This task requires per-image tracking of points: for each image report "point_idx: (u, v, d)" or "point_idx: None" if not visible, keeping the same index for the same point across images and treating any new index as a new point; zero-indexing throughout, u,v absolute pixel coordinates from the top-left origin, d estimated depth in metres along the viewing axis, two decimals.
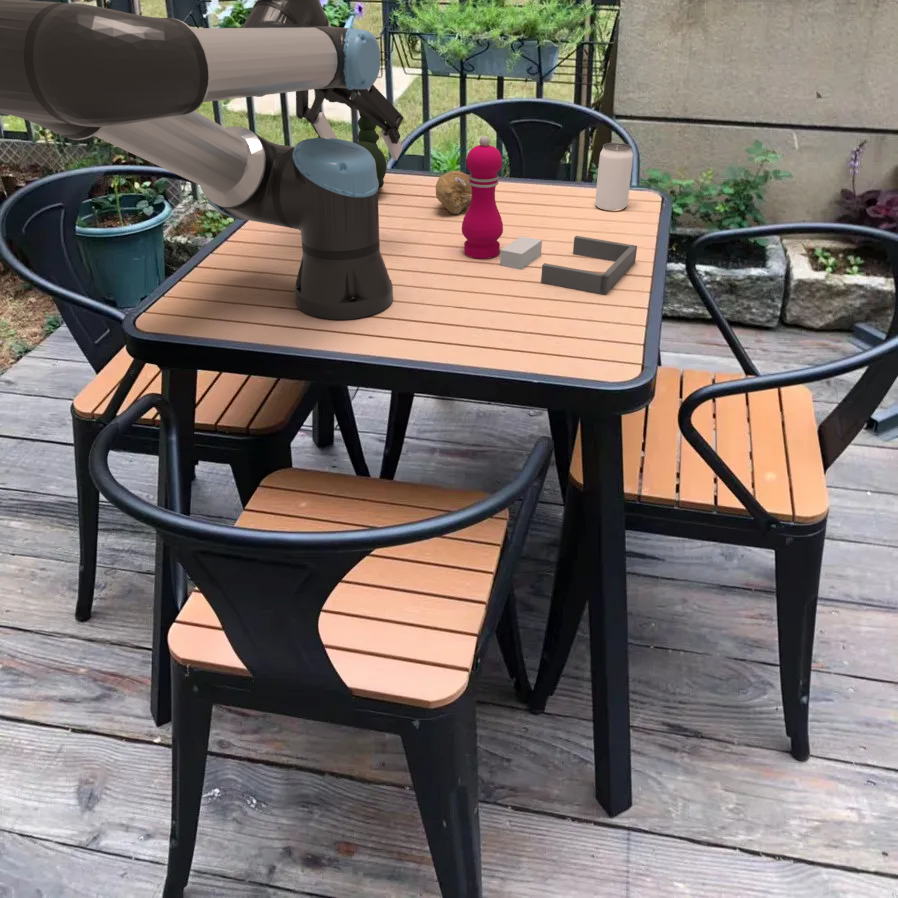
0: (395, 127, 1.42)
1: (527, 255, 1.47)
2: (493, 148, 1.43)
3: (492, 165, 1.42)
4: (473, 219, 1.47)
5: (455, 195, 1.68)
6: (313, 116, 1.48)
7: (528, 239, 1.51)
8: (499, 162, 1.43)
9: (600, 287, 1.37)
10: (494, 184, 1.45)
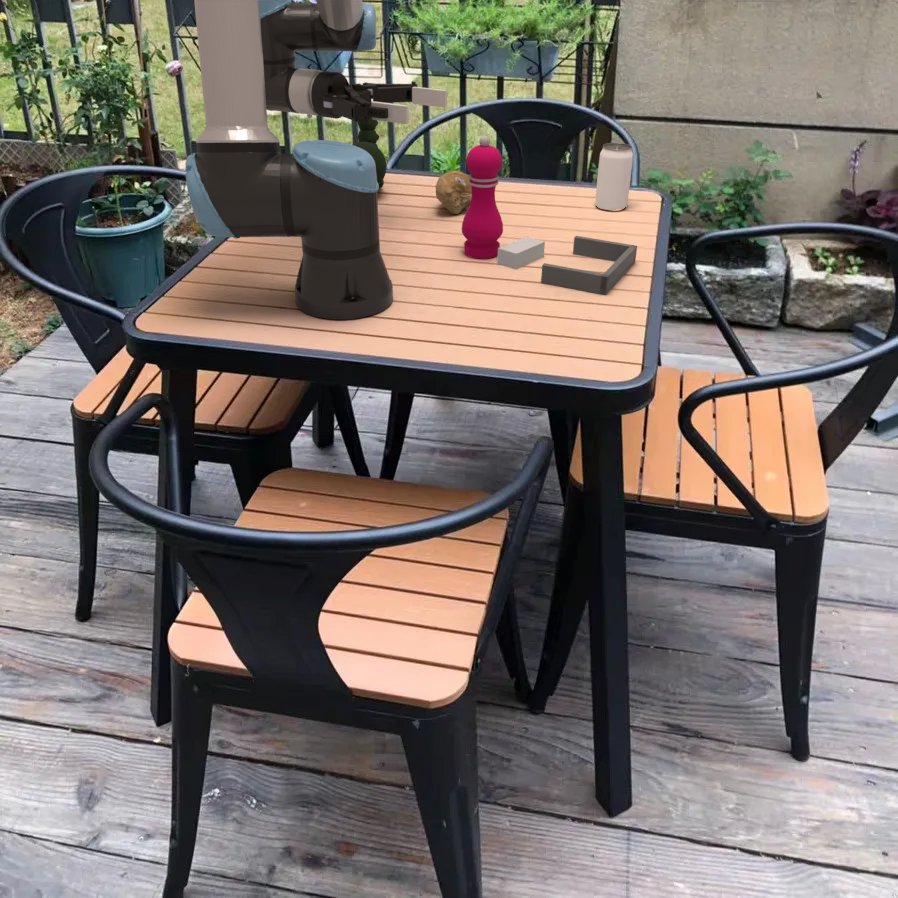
0: None
1: (524, 255, 1.47)
2: (493, 148, 1.43)
3: (492, 165, 1.42)
4: (473, 219, 1.47)
5: (455, 195, 1.68)
6: (364, 101, 1.42)
7: (531, 239, 1.51)
8: (499, 162, 1.43)
9: (600, 287, 1.37)
10: (494, 184, 1.45)
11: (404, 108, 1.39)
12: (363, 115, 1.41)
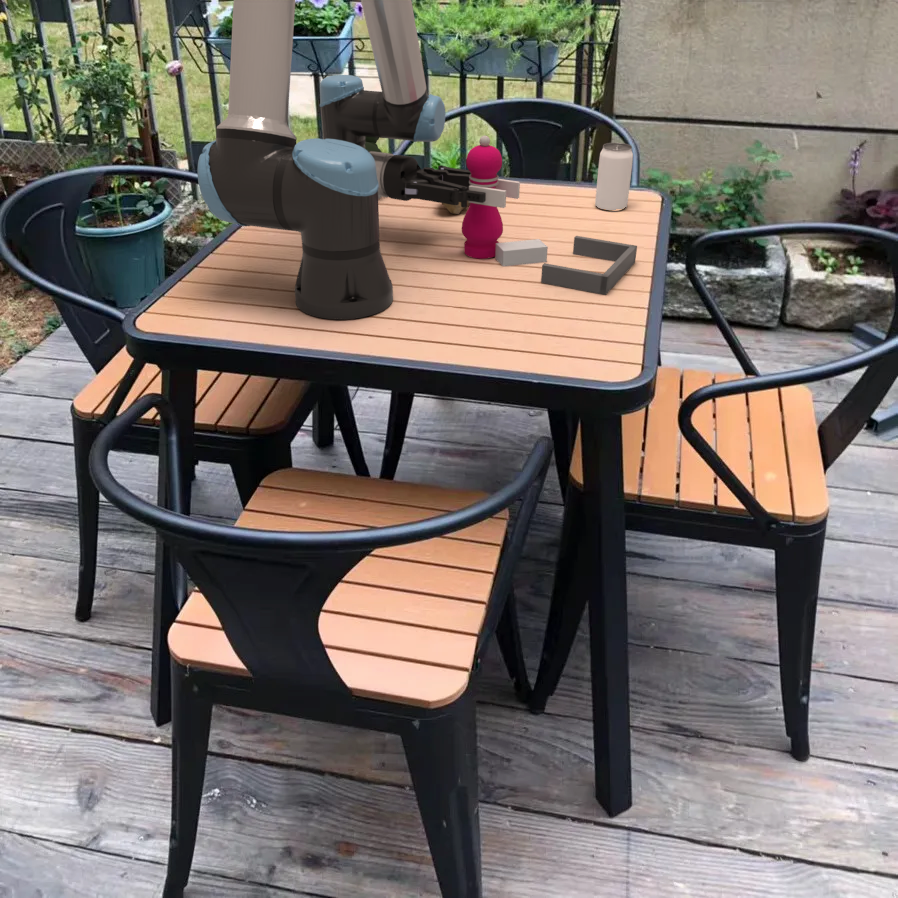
0: None
1: (516, 255, 1.47)
2: (493, 148, 1.43)
3: (492, 165, 1.42)
4: (473, 219, 1.47)
5: None
6: (457, 185, 1.45)
7: (538, 242, 1.50)
8: (499, 162, 1.43)
9: (600, 287, 1.37)
10: (494, 184, 1.45)
11: (502, 193, 1.42)
12: (461, 199, 1.44)
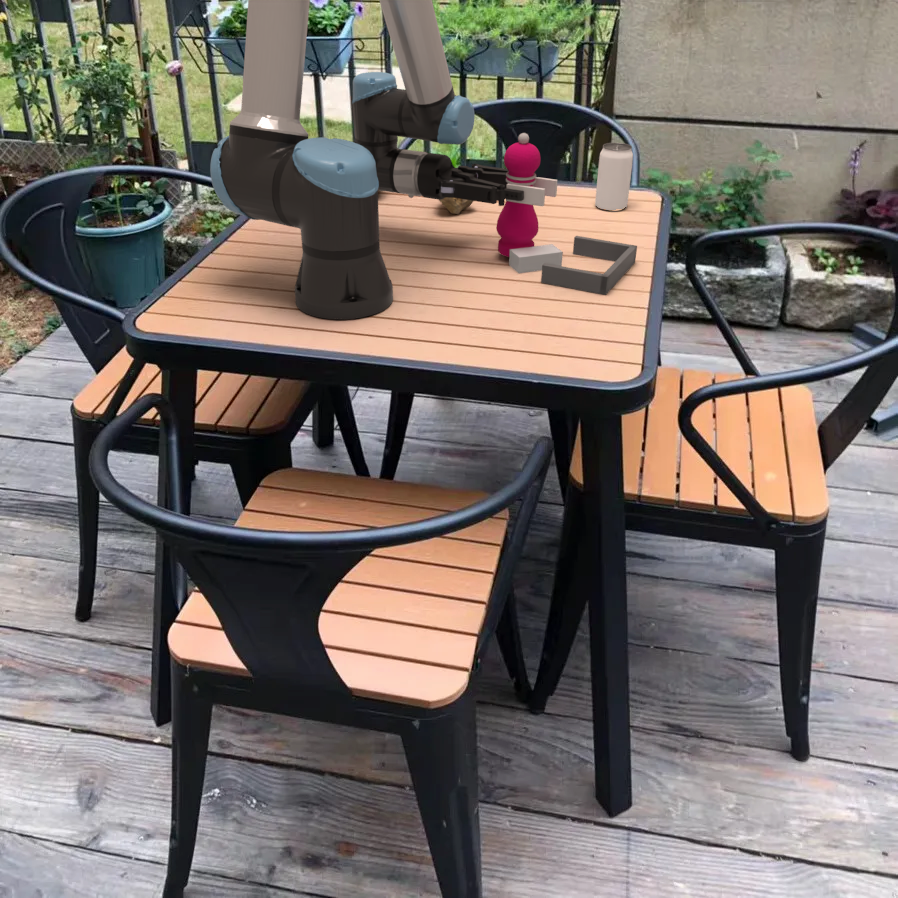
0: None
1: (531, 261, 1.45)
2: (532, 146, 1.40)
3: (531, 163, 1.40)
4: (509, 218, 1.45)
5: None
6: (494, 183, 1.43)
7: (552, 247, 1.47)
8: (538, 160, 1.41)
9: (600, 287, 1.37)
10: (532, 182, 1.43)
11: (542, 192, 1.40)
12: (499, 197, 1.42)
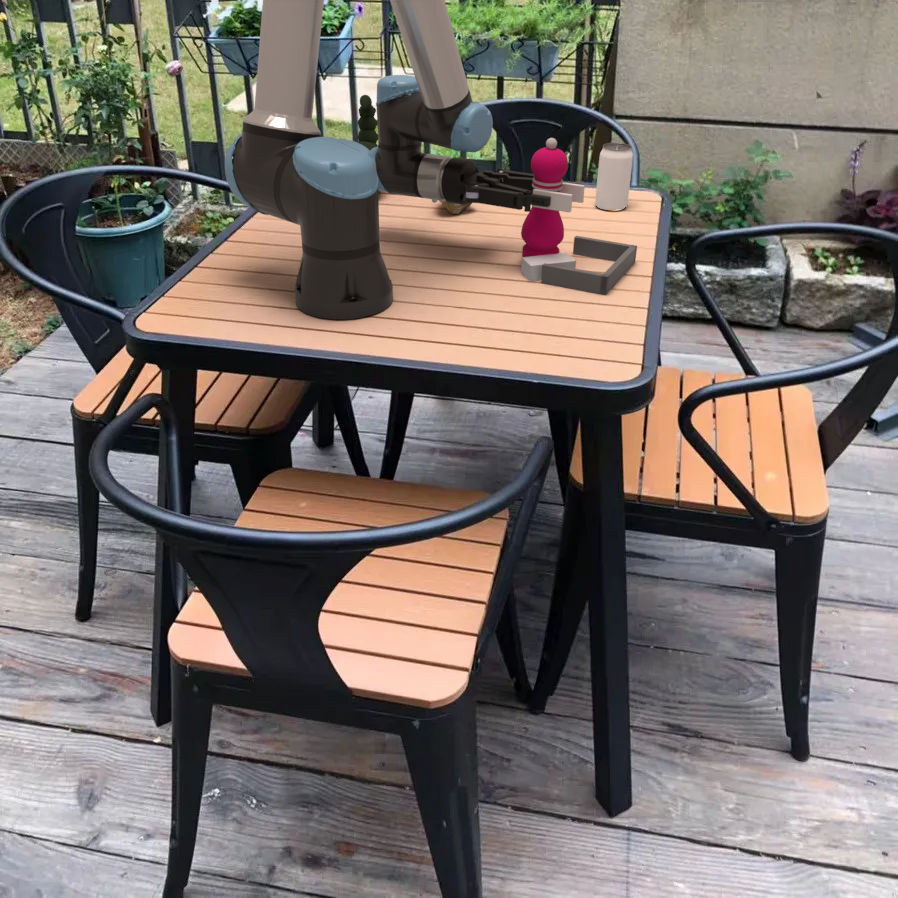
0: None
1: None
2: (560, 151, 1.38)
3: (558, 169, 1.37)
4: (534, 224, 1.42)
5: None
6: (520, 188, 1.40)
7: (565, 256, 1.44)
8: (565, 166, 1.38)
9: (600, 287, 1.37)
10: (559, 188, 1.40)
11: (569, 198, 1.37)
12: (525, 203, 1.39)
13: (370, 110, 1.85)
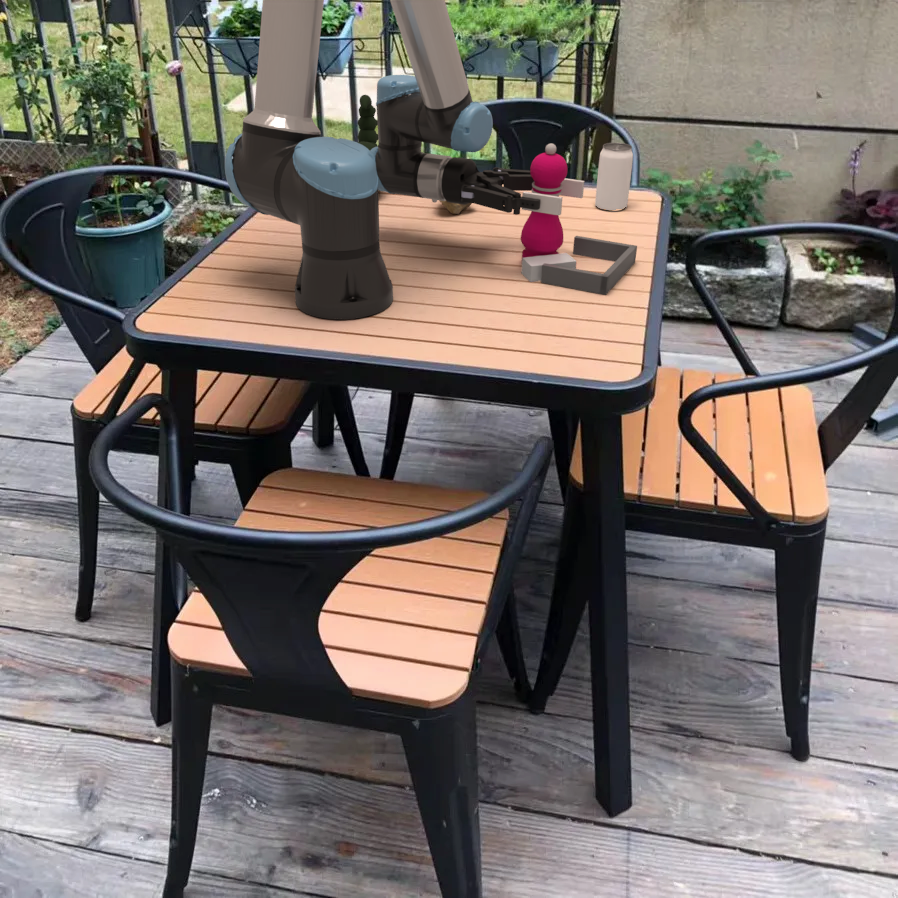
0: None
1: None
2: (559, 157, 1.38)
3: (558, 174, 1.38)
4: (534, 229, 1.43)
5: None
6: (512, 191, 1.39)
7: (566, 256, 1.44)
8: (565, 171, 1.38)
9: (600, 287, 1.37)
10: (558, 194, 1.40)
11: (559, 200, 1.36)
12: (514, 206, 1.38)
13: (370, 110, 1.85)
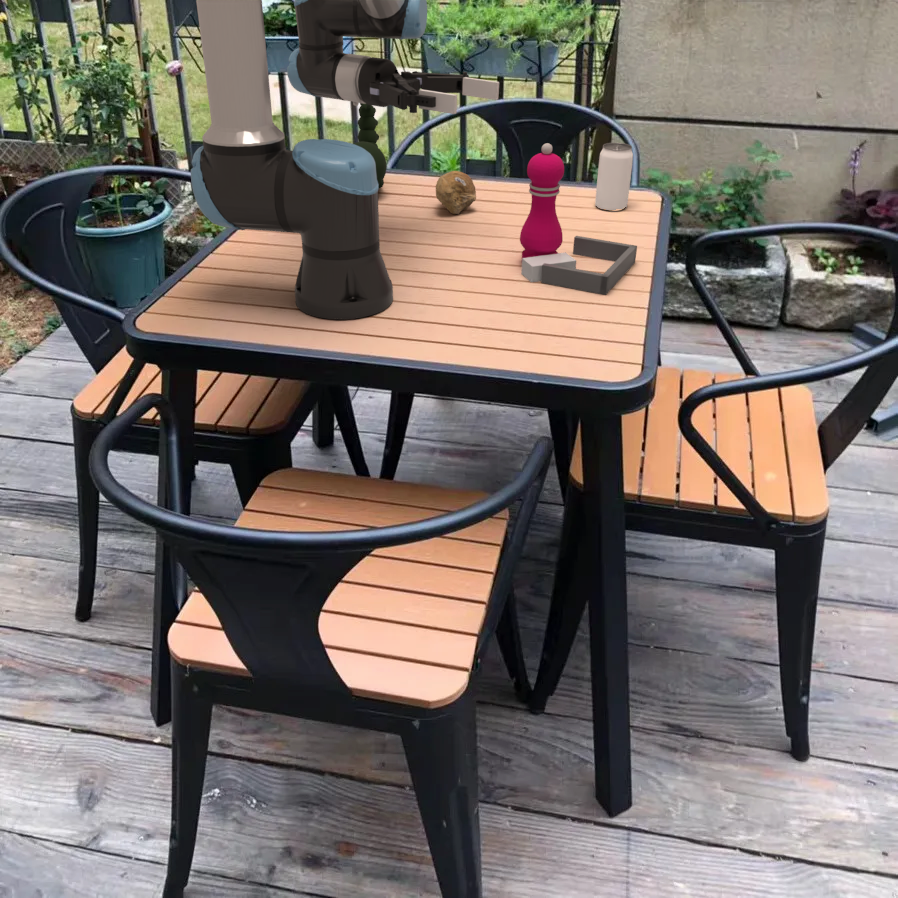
0: None
1: None
2: (556, 156, 1.39)
3: (554, 173, 1.38)
4: (533, 229, 1.43)
5: (455, 195, 1.68)
6: (412, 88, 1.36)
7: (565, 256, 1.44)
8: (562, 170, 1.39)
9: (600, 287, 1.37)
10: (556, 193, 1.41)
11: (453, 98, 1.32)
12: (409, 103, 1.35)
13: (370, 110, 1.85)
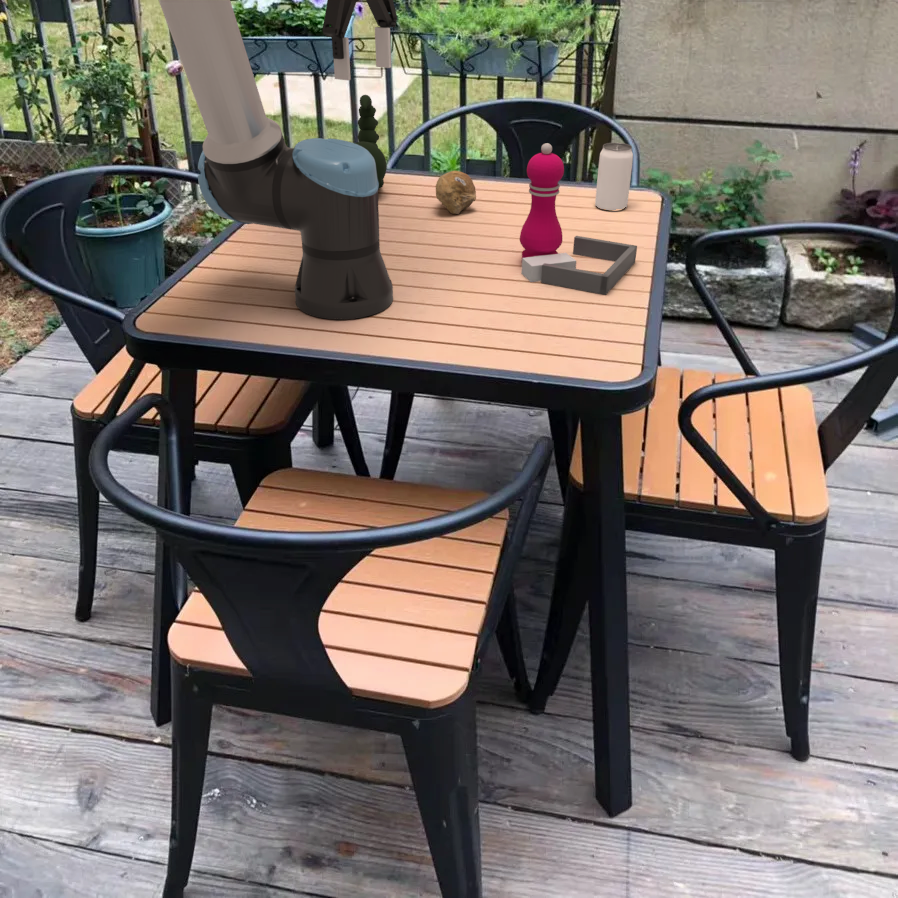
0: (396, 16, 1.54)
1: None
2: (555, 156, 1.39)
3: (554, 173, 1.38)
4: (533, 229, 1.43)
5: (455, 195, 1.68)
6: (347, 25, 1.42)
7: (565, 256, 1.44)
8: (561, 170, 1.39)
9: (600, 287, 1.37)
10: (555, 193, 1.41)
11: (346, 78, 1.46)
12: (330, 35, 1.42)
13: (370, 110, 1.85)
